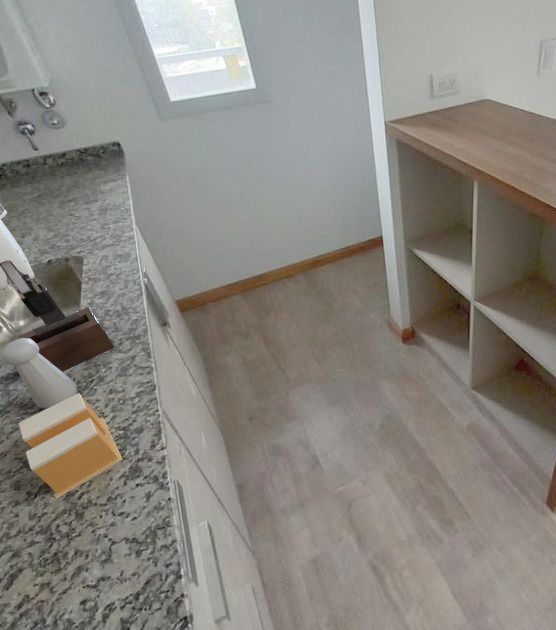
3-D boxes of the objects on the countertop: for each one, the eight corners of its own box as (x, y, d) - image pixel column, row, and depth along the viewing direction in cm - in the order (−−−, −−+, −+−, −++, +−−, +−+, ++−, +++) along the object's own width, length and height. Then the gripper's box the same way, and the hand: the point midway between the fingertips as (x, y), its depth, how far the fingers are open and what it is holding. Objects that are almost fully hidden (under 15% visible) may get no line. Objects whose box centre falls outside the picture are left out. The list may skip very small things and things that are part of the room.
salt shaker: (58, 420, 70) (5, 362, 62) (35, 411, 72) (-19, 353, 64) (91, 393, 75) (45, 336, 66) (68, 385, 76) (22, 328, 68)
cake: (58, 502, 59) (27, 474, 55) (43, 453, 66) (14, 424, 61) (125, 462, 63) (101, 433, 59) (105, 419, 70) (81, 391, 66)
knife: (59, 364, 81) (11, 303, 72) (56, 359, 82) (10, 298, 73) (100, 345, 84) (60, 285, 76) (98, 341, 86) (58, 281, 77)
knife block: (45, 379, 78) (24, 355, 74) (38, 359, 82) (18, 335, 79) (114, 347, 84) (98, 323, 80) (104, 330, 88) (88, 306, 84)
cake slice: (57, 493, 59) (30, 468, 55) (52, 477, 61) (25, 451, 58) (117, 457, 63) (96, 432, 59) (110, 443, 65) (89, 417, 61)
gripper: (-65, 206, 68) (12, 301, 79) (-60, 238, 58) (26, 341, 70) (-6, 190, 72) (59, 283, 83) (7, 218, 62) (79, 318, 74)
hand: (44, 309), depth 76 cm, fingers closed on knife, 2 cm apart
